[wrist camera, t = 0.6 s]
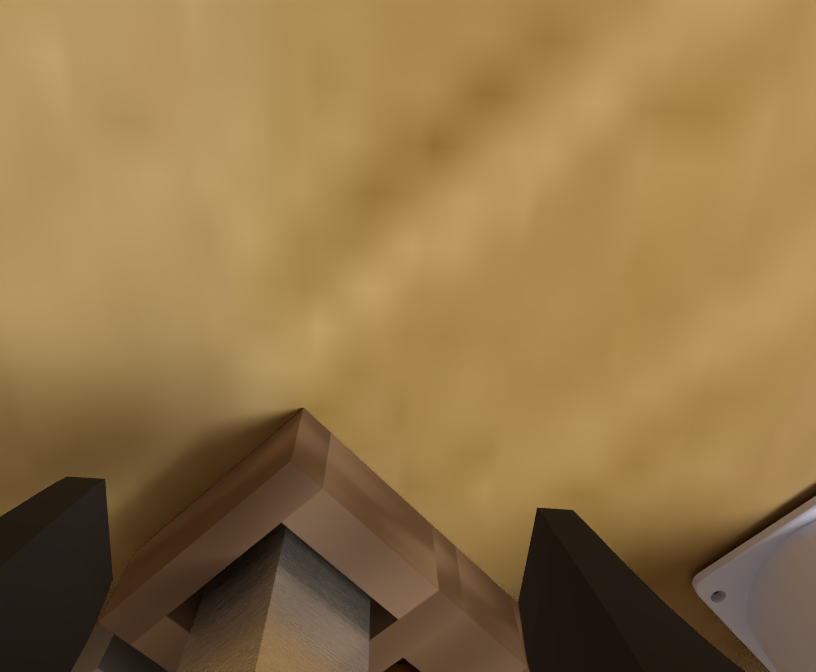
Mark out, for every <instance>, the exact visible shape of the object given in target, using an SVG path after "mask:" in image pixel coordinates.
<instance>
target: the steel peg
mask: <svg viewBox="0 0 816 672" xmlns="http://www.w3.org/2000/svg"><path fill="white" fill-rule="evenodd" d="M369 629H370V596H369V595H368V594H367V593H366V592H365V591H363V590H362V589H361V588H360V587H359V586H357V585H356V584H355V583H354V582H353V581H351V580H350V579H349V578H348V577H347V576H345V575H344V574H343V573H342V572H340V571H339V570H338V569H337V568H336V567H334V566H333V565H332V564H331V563H330V562H328V561H327V560H326V559H325V558H324V557H322V556H321V555H320V554H319V553H318V552H316V551H315V550H314V549H313V548H312V547H310V546H309V545H308V544H307V543H306V542H304V541H303V540H302V539H301V538H300V537H298V536H297V535H296V534H295V533H294V532H292V531H291V530H290V529H289V528H287V527H286V526H285V525H284V524H283V523H280V524H279V525H278V526H276V527H275V528H274V529H273V530H271V531H270V532H269V533H268V534H266V535H265V536H264V537H263V538H262V539H260V540H259V541H258V542H257V543H255V544H254V545H253V546H252V547H250V548H249V549H248V550H247V551H246V552H244V553H243V554H242V555H241V556H239V557H238V558H237V559H236V560H234V561H233V562H232V563H231V564H230V565H228V566H227V567H226V568H225V569H223V570H222V571H221V572H220V573H218V574H217V575H216V576H215V577H214V578H212V579H211V580H210V581H209V582H207V585H206V588H205V591H204V594H203V597H202V599H201V602H200V605H199V608H198V611H197V614H196V617H195V620H194V622H193V625H192V628H191V631H190V634H189V637H188V640H187V643H186V645H185V648H184V651H183V654H182V657H181V660H180V663H179V666H178V668H177V671H176V672H368V667H369Z"/></svg>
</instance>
